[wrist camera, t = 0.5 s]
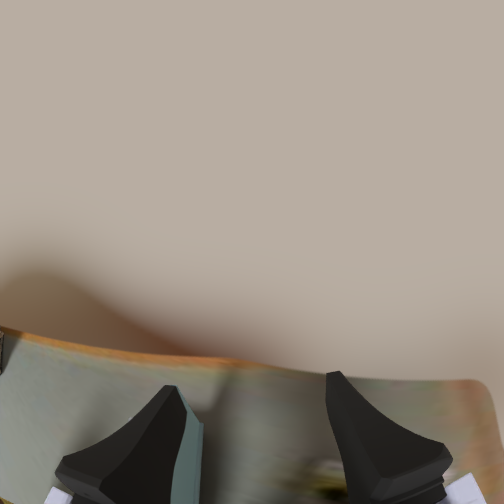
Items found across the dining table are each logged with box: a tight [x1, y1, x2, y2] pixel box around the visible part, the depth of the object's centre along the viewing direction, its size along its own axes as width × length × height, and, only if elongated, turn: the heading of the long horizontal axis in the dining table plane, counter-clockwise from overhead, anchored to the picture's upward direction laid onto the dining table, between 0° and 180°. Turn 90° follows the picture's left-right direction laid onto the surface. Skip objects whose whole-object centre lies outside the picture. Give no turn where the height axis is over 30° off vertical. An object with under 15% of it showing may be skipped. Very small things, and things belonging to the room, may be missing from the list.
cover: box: [171, 385, 204, 504], centre depth 14 cm, size 18×9×1 cm
